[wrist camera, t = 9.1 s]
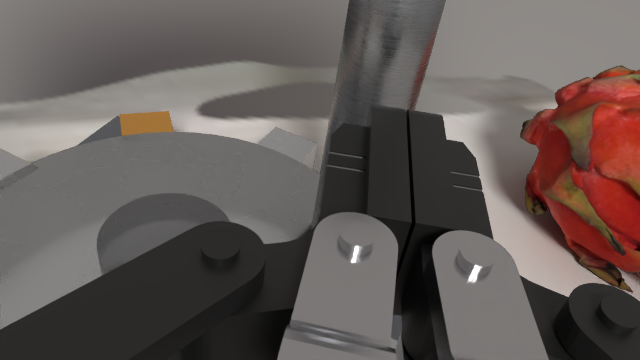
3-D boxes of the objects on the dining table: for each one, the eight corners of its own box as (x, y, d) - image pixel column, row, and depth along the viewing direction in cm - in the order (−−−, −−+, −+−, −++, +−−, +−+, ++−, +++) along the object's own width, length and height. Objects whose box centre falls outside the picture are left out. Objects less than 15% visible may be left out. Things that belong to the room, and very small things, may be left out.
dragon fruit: (534, 172, 32) (638, 368, 24) (454, 102, 27) (552, 321, 20) (680, 82, 28) (859, 283, 20) (617, -18, 23) (822, 196, 15)
